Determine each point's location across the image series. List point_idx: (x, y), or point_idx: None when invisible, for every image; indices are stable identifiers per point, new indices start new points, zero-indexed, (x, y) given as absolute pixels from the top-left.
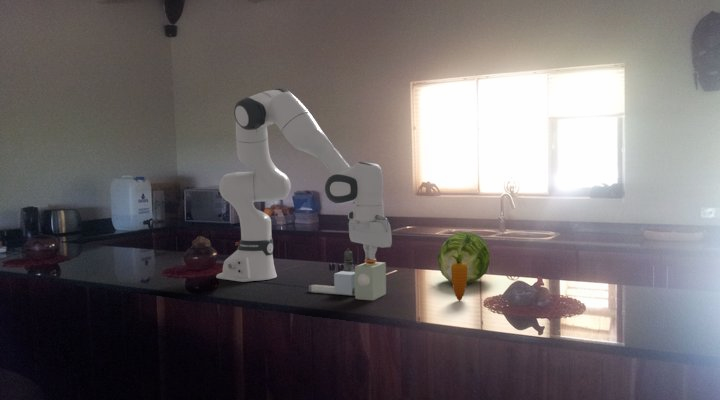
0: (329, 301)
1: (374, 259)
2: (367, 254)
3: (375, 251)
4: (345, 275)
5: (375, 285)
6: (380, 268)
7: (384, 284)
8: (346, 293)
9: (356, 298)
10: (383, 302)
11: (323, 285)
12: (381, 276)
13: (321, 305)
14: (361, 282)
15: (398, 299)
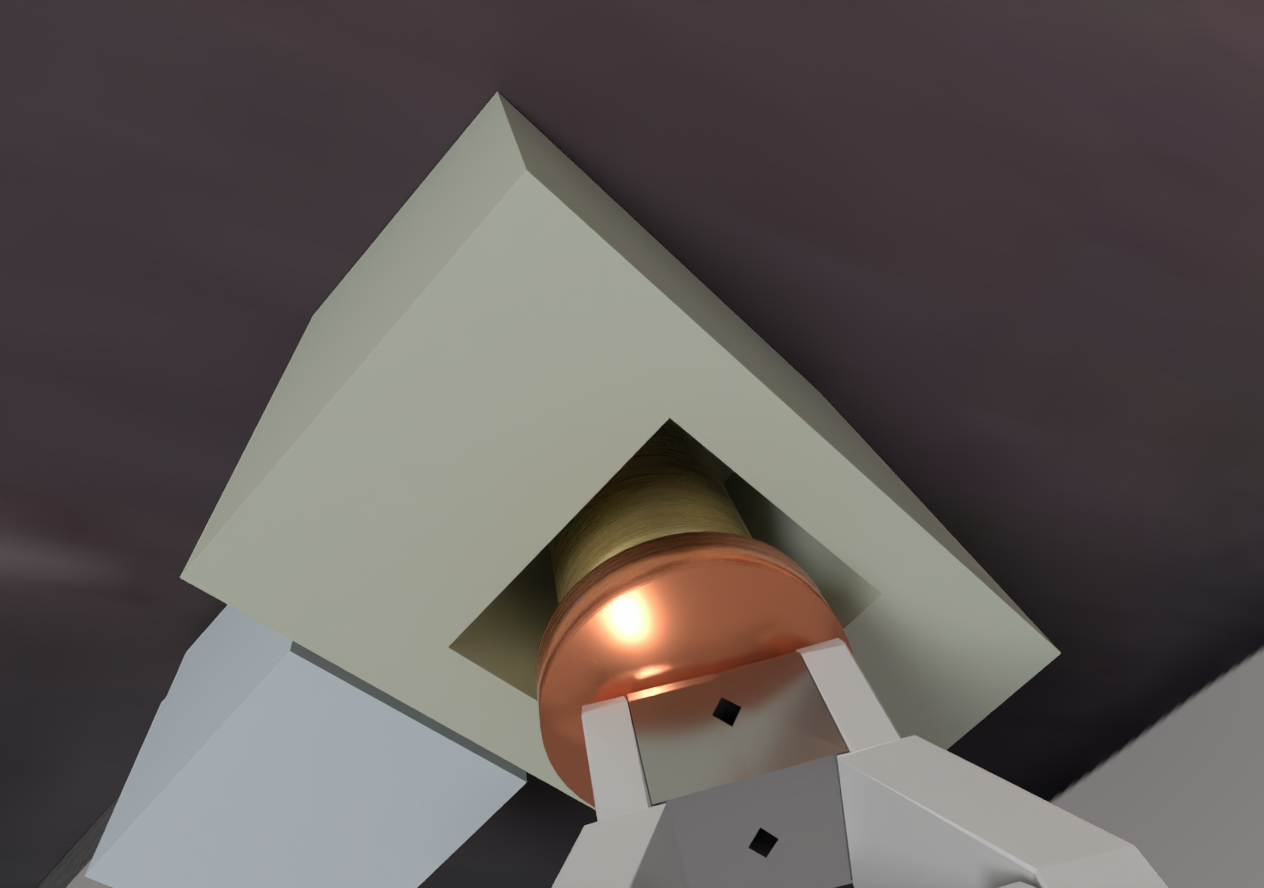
0: None
1: (804, 631)
2: (749, 886)
3: (1007, 801)
4: (455, 836)
5: (841, 423)
6: (774, 383)
7: (557, 158)
8: None
9: None
10: (963, 306)
11: (86, 877)
12: (691, 293)
13: None
14: None
15: (913, 49)
